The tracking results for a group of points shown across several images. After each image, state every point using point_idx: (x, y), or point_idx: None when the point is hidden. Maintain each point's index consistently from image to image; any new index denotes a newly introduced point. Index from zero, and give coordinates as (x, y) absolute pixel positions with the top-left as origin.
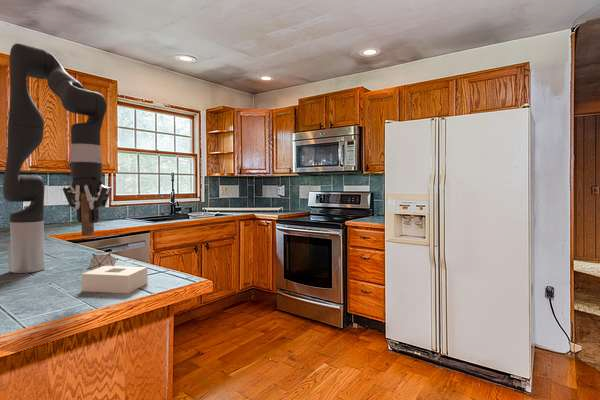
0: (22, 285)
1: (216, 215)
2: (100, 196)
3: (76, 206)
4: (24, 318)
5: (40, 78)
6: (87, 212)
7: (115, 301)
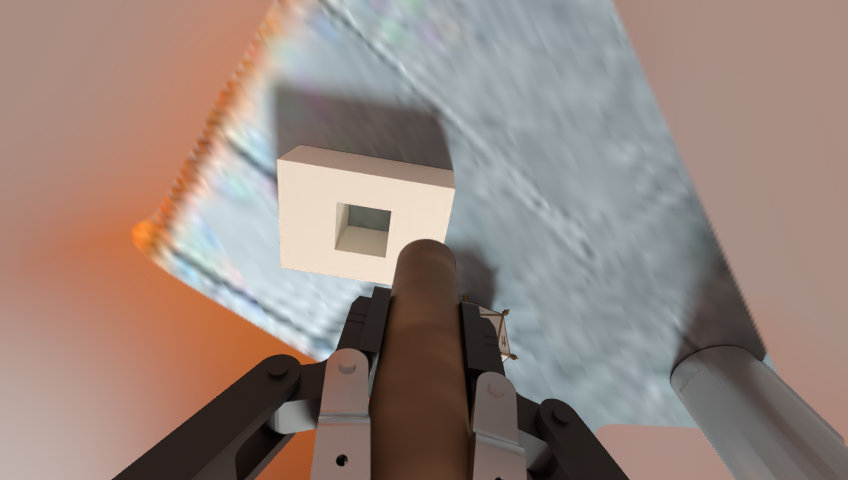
0: (664, 235)
1: None
2: (188, 455)
3: (502, 391)
4: None
5: None
6: (398, 336)
7: (292, 61)
